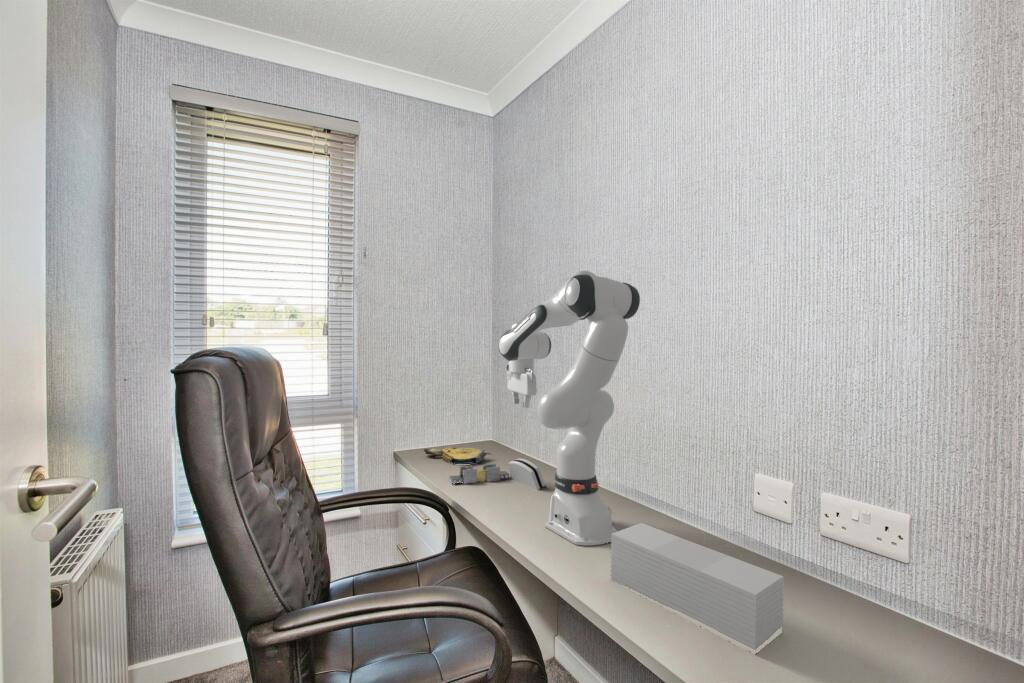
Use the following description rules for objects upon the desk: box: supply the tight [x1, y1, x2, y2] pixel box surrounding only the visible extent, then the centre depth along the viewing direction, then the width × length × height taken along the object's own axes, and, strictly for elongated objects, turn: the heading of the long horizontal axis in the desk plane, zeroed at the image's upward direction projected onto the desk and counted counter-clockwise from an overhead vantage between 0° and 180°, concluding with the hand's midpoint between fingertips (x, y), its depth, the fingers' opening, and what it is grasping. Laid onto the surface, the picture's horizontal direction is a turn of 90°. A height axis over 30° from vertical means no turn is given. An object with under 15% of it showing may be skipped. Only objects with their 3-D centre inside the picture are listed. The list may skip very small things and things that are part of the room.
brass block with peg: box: [477, 467, 490, 482], centre depth 183 cm, size 2×12×5 cm, turn 107°
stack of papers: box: [610, 522, 785, 650], centre depth 100 cm, size 32×11×11 cm, turn 38°
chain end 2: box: [482, 463, 510, 483], centre depth 185 cm, size 6×9×5 cm, turn 111°
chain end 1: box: [449, 465, 478, 484], centre depth 181 cm, size 6×9×5 cm, turn 111°
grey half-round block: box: [507, 458, 549, 491], centre depth 180 cm, size 17×5×10 cm, turn 35°
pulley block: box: [423, 446, 492, 466], centre depth 212 cm, size 14×6×30 cm
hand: (521, 405), depth 176 cm, fingers open, 8 cm apart
